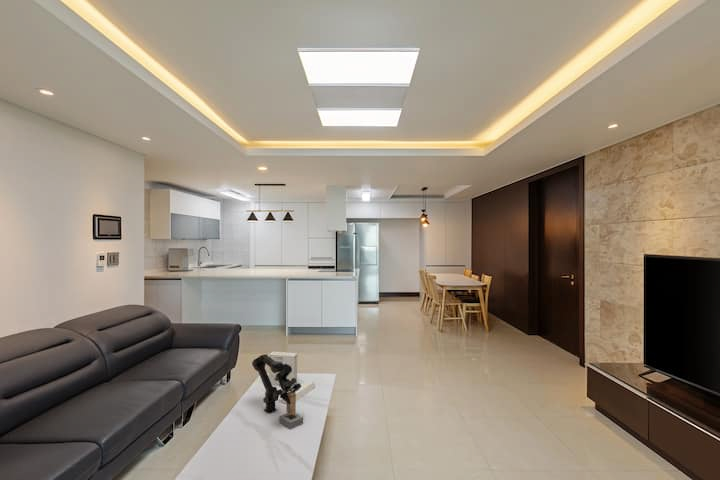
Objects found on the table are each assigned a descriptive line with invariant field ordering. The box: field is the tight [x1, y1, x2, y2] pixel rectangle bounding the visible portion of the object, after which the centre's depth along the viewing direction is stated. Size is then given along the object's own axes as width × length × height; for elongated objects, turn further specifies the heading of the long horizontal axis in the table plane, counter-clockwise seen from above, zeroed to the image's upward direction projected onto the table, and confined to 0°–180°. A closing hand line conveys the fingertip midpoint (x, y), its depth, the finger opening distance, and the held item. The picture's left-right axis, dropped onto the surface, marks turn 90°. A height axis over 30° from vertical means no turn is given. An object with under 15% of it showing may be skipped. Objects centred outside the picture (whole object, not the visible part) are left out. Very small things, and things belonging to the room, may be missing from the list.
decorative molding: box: [277, 381, 316, 405], centre depth 268 cm, size 34×5×10 cm
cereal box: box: [268, 351, 298, 387], centre depth 288 cm, size 22×8×25 cm, turn 81°
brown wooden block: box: [285, 391, 297, 415], centre depth 224 cm, size 5×4×12 cm
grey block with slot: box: [278, 412, 304, 430], centre depth 225 cm, size 12×10×4 cm
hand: (292, 403), depth 223 cm, fingers closed on brown wooden block, 3 cm apart
